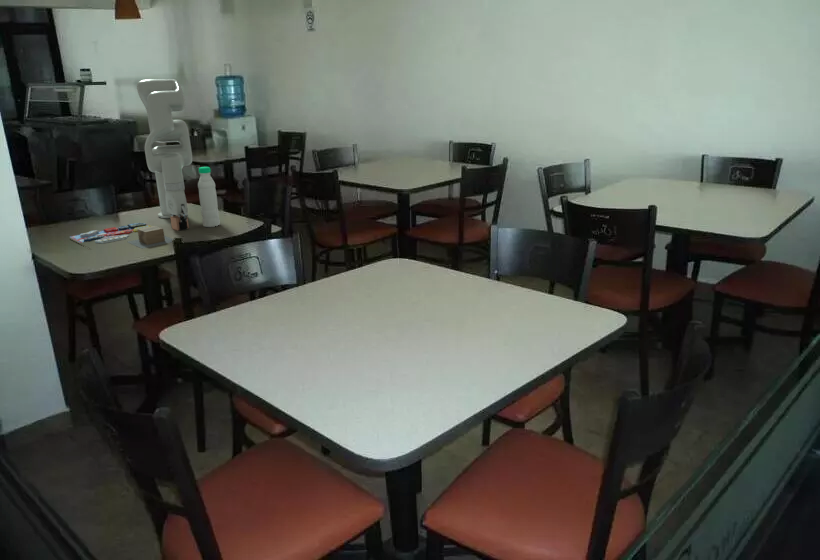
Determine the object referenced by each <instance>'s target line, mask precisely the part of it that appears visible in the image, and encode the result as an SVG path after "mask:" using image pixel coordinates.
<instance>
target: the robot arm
mask: <svg viewBox="0 0 820 560" xmlns="http://www.w3.org/2000/svg"><path fill="white" fill-rule="evenodd" d="M136 89H137V94H138V96H139V98H140V101H141V102H142V104H143V106H144V108H145V110H146V115H147V121H148V128H149V135H148V136H147V137H146V139H145V143H144V154H145V160H146V165H147V168H148V170H149V172H152V173H154V175H155V181H156V187H157V193H158V200H159V209H160V212H159V213H157V216H158V218H161V219H171V218H170V217H172V216H178V218H179V221H180V222H179V228H180V230H179V231H185V230H188V229H189V228H188V227H187V217H188V218H189V214H188V203H187V198H186V197H187V196H186V194H185V182H184V175H183V174H184V173H183V168H184V167H187V166H190V165H191V164H192V163H193V152H192V151H193V150H192V145H191V138H190V134H189V132H190V131H189V128H188V125H187V122H186V121H184V120H182V119H173V113H174V112H183V111H185V108H186V99H185V95H184V91H183V88H182V85H181V83H180V81H179V80H177V79H176V78H147V79H142V80H139V81H138V82H137V83H136ZM172 112H173V113H172ZM154 143H179V144H173V145H172V144H167V145H157V146H154V147H153V145H154ZM181 216H182V218H181Z"/></svg>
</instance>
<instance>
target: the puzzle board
mask: <svg viewBox="0 0 820 560" xmlns="http://www.w3.org/2000/svg"><path fill="white" fill-rule="evenodd" d="M151 226H152V225H149V224H147V223H144V222H136V223H130V224H128V223H127V225H121V226H118V227H115V226H114V227H107V228H103V230H98V229H96V230H95V229H94V230H90V231H88V232H83V233H81V232H80V233H79V234H76V235H70V236H69V239H70V240H71V241H73V242H74V243H76V242H77V244H78V243H79V244H78V245H80V244H81V245H80V246H82V245H83V246H82V247H84V246H85V245H84V244H83V243H86V242H92V241H94V243H95V244H108V243H112V242H113V243H114V242H117V241H124V240H127V239H128V237H130V235H129V234H131V233H132V234H133V233H138V230H137V229H140V228H145V227H151ZM86 247H87V246H85V247H84V248H86ZM88 248H89V250H91V248H90V247H88Z"/></svg>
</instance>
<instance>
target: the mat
mask: <svg viewBox="0 0 820 560" xmlns="http://www.w3.org/2000/svg"><path fill="white" fill-rule="evenodd" d="M164 237H165V241H163V242H158V243H154V244H149V245H146V244H144V243H142V242H139V238H138V239H135V240H129V241H127V243H128V244H131V245H133V246H134V247H137V248H140V249H147V248H152V247H156V246H161V245H165V244H169V243H173V242H172V240H173V239H174V238H172V237H169V236H166V235H164Z"/></svg>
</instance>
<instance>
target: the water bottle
mask: <svg viewBox="0 0 820 560" xmlns="http://www.w3.org/2000/svg"><path fill="white" fill-rule="evenodd" d="M211 170H212V169H211V167H209V166H201V167H199V168H198V174H199V175H200V177H199V180H198V181H197V188H198V197H199V199H198V200H199V204H200V205H199V206H200V208H201V210H200V211H201V212H200V213H201V217H202V219H201V221H202V226H203V227H205V228H216V227H219V226H220V224H221V221H220V212H219V209H218V207H219V206H218V196H217V190H216V183H215V181H214V179H213V178H212V176H211V172H212V171H211ZM218 225H219V226H218ZM215 226H216V227H215Z"/></svg>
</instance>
